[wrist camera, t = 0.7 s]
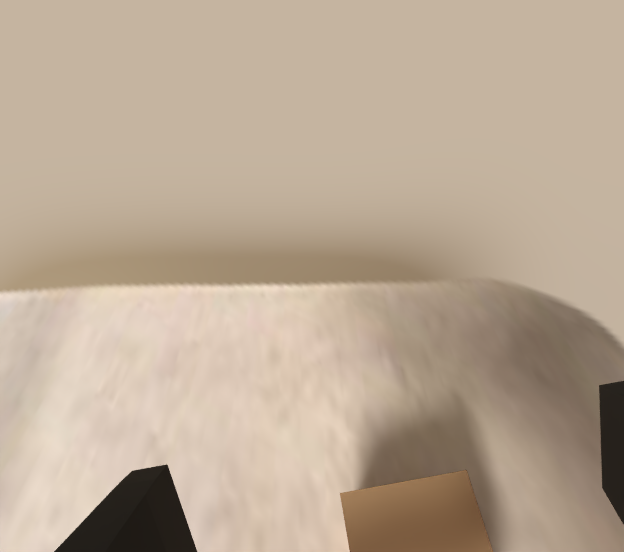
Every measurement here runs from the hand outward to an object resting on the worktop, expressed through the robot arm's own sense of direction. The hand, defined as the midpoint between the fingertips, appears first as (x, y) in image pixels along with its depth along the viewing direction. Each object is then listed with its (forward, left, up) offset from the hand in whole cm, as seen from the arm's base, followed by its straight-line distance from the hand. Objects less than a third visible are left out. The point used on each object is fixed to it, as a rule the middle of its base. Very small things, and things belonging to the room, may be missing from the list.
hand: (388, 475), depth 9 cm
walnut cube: (+1, -1, -17) cm, 17 cm away
